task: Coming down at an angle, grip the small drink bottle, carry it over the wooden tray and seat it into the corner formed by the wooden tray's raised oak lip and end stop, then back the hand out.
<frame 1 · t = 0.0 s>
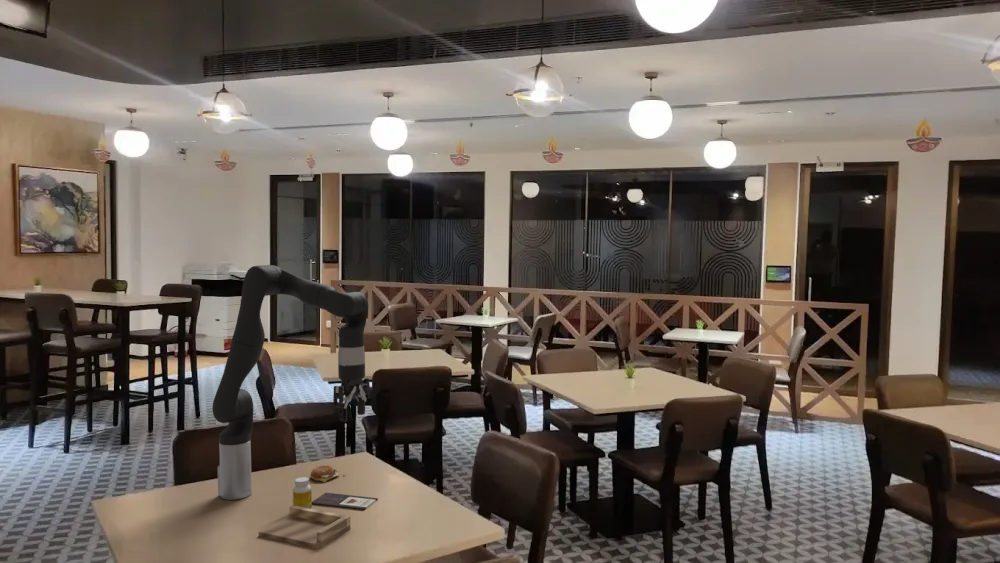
hand: (352, 417, 202), 29 cm above the table, tool pointing down, fingers open, 8 cm apart
wooden tray: (305, 532, 193), on the table
chocolate bar: (344, 504, 216), on the table
supplement bottle: (302, 511, 209), on the table
hamburger: (329, 478, 239), on the table
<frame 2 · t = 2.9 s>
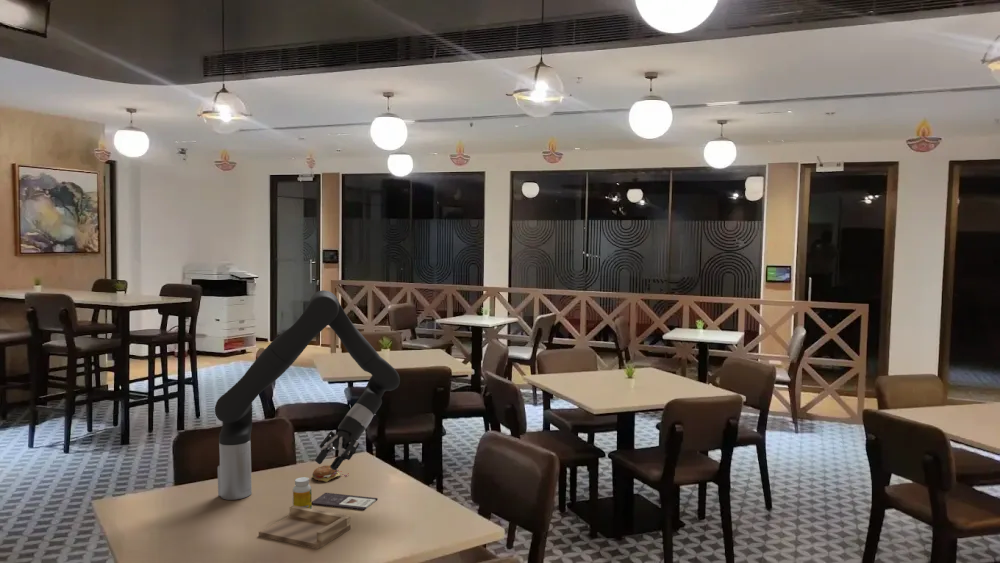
hand: (324, 465, 214), 12 cm above the table, tool tilted 45°, fingers open, 8 cm apart
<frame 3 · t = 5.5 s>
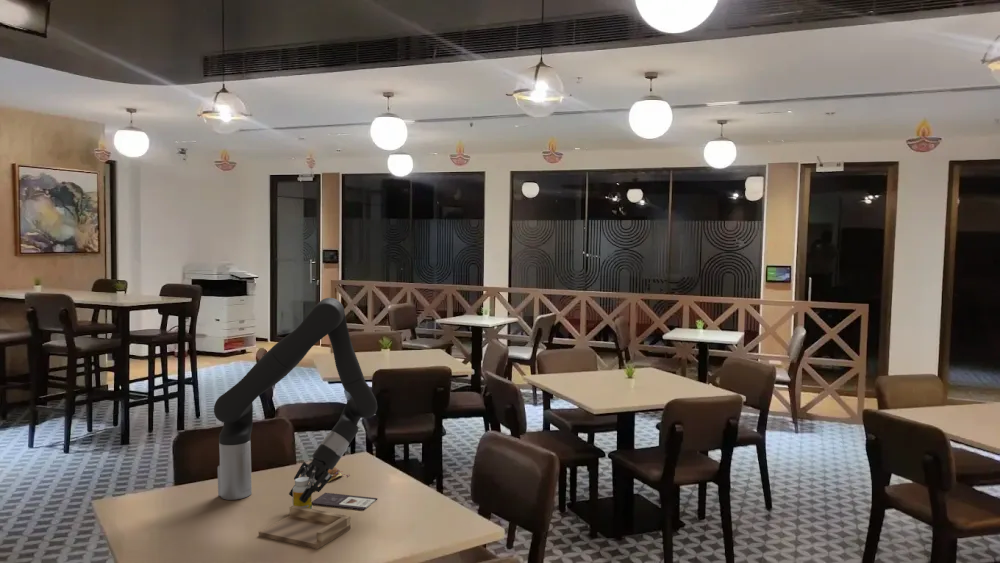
hand: (296, 498, 207), 4 cm above the table, tool tilted 45°, fingers closed on supplement bottle, 5 cm apart
supplement bottle: (302, 511, 209), on the table, touching gripper
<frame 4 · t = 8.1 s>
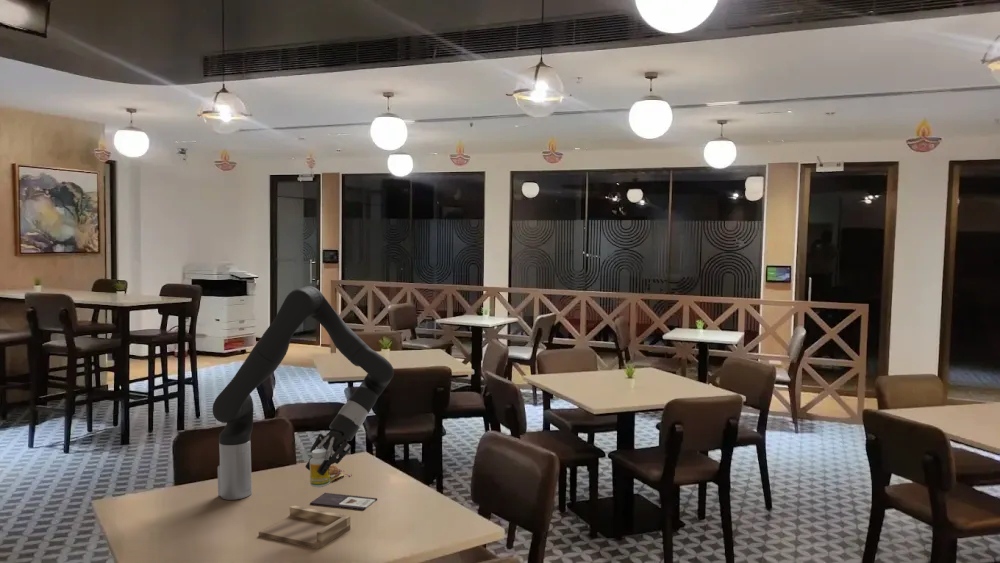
hand: (314, 471, 194), 16 cm above the table, tool tilted 45°, fingers closed on supplement bottle, 5 cm apart
supplement bottle: (320, 485, 196), point 12 cm above the table, touching gripper
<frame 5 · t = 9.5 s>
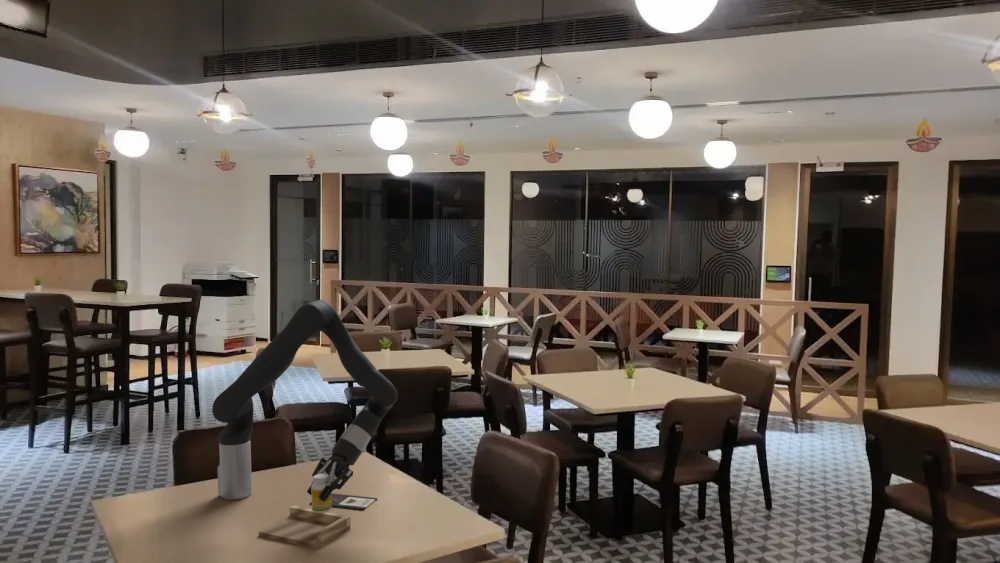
hand: (315, 496, 191), 10 cm above the table, tool tilted 45°, fingers closed on supplement bottle, 5 cm apart
supplement bottle: (322, 510, 193), point 6 cm above the table, touching gripper
when the fingers open (7 cm above the table, at t = 10.6 s): supplement bottle drops 1 cm, resting on wooden tray.
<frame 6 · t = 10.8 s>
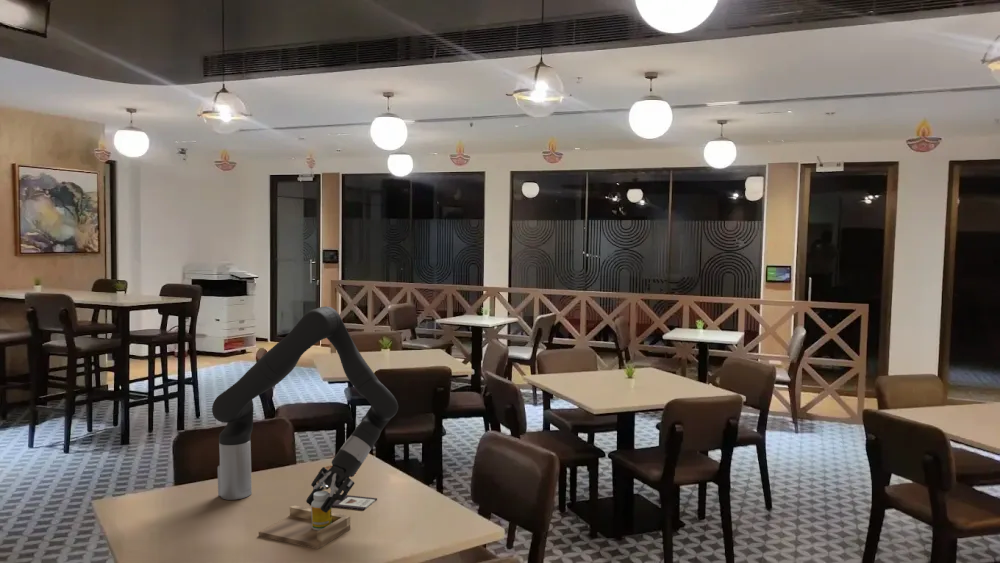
hand: (315, 507, 192), 7 cm above the table, tool tilted 45°, fingers open, 7 cm apart
supplement bottle: (322, 528, 193), point 1 cm above the table, touching wooden tray
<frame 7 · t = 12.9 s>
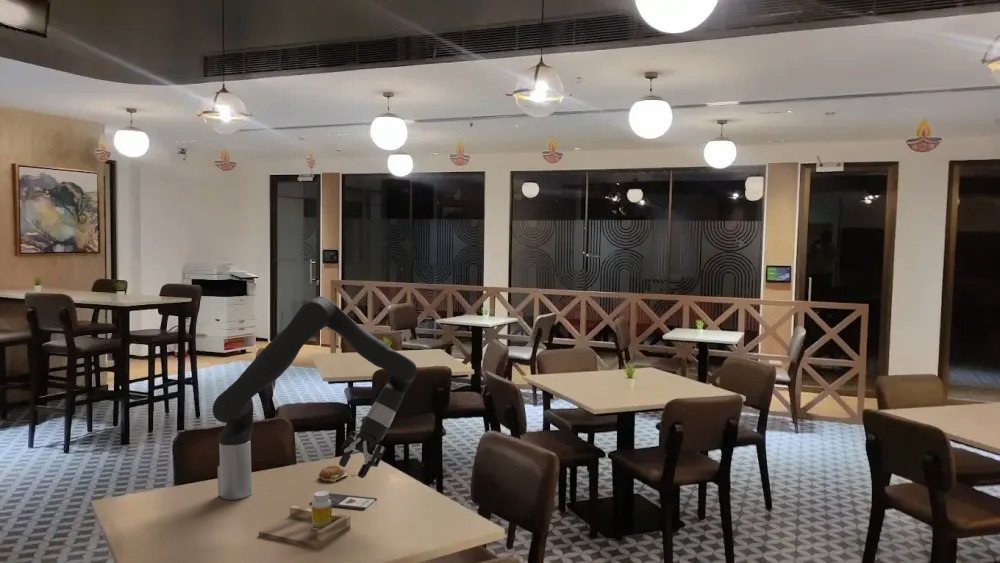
hand: (350, 471, 203), 13 cm above the table, tool tilted 35°, fingers open, 8 cm apart
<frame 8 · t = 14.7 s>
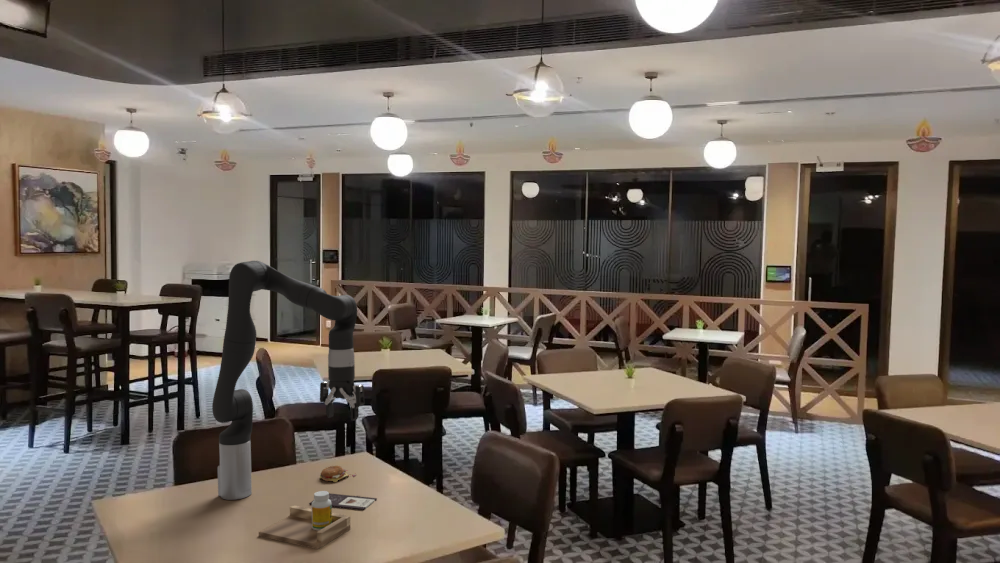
hand: (342, 418, 206), 28 cm above the table, tool pointing down, fingers open, 8 cm apart
at the end: supplement bottle inside the target area on the wooden tray (0.7 cm from its centre), point 1.0 cm above the wooden tray's base; supplement bottle tilted 0°; supplement bottle touching wooden tray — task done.
